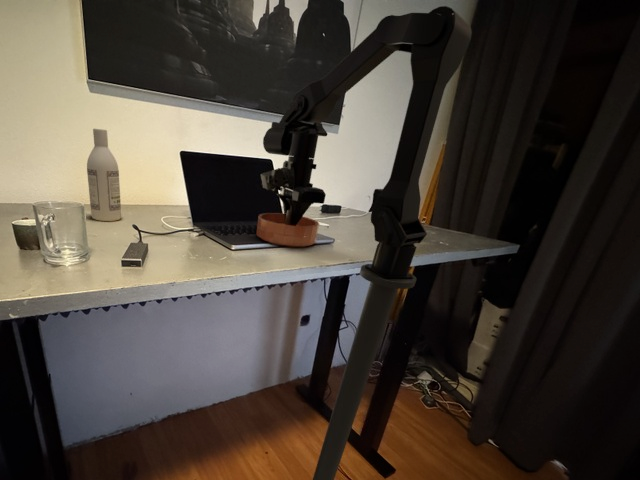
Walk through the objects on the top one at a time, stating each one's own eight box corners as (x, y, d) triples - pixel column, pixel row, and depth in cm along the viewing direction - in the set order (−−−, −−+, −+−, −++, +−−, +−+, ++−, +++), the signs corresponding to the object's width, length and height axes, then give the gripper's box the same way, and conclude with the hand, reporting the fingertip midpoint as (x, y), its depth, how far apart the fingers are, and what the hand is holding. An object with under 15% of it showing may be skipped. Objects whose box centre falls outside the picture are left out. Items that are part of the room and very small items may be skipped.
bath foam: (122, 216, 86) (117, 131, 77) (120, 222, 80) (114, 130, 71) (93, 214, 84) (85, 127, 75) (89, 220, 78) (80, 126, 69)
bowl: (325, 249, 76) (330, 227, 74) (266, 247, 72) (269, 225, 70) (300, 233, 89) (304, 214, 86) (249, 230, 85) (251, 211, 83)
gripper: (255, 152, 79) (248, 217, 85) (282, 156, 62) (270, 235, 69) (297, 156, 81) (287, 219, 88) (333, 161, 65) (318, 237, 72)
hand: (289, 226), depth 79 cm, fingers closed on scrub brush, 2 cm apart
